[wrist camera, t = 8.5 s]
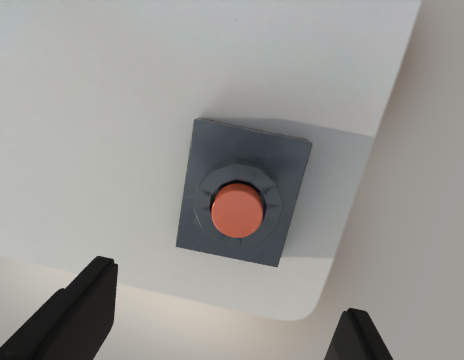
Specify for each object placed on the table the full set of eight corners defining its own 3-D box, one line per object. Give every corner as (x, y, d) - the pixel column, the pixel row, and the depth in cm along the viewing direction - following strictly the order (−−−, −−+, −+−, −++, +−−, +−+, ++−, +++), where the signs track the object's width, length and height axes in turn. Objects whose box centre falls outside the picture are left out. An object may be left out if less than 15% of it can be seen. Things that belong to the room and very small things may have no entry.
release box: (198, 117, 22) (188, 121, 19) (307, 139, 22) (318, 147, 19) (180, 237, 25) (169, 258, 22) (275, 256, 25) (279, 281, 22)
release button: (218, 178, 20) (215, 185, 18) (266, 188, 20) (268, 196, 18) (210, 222, 21) (207, 232, 19) (256, 231, 21) (256, 242, 19)
